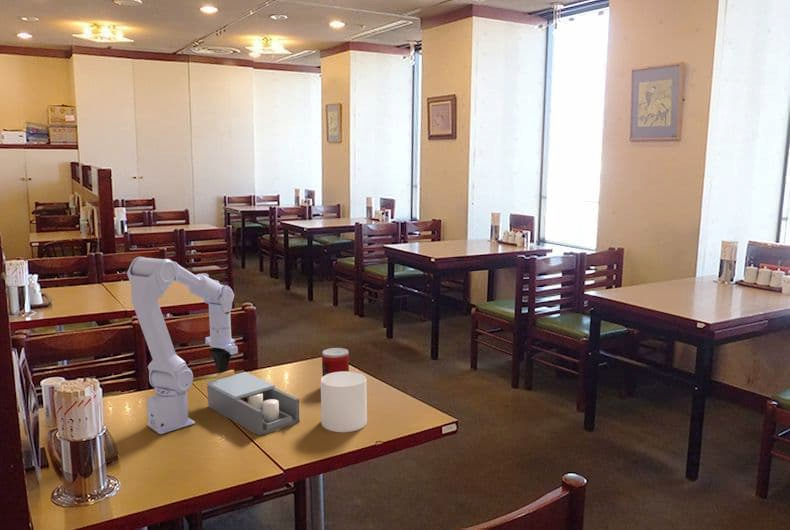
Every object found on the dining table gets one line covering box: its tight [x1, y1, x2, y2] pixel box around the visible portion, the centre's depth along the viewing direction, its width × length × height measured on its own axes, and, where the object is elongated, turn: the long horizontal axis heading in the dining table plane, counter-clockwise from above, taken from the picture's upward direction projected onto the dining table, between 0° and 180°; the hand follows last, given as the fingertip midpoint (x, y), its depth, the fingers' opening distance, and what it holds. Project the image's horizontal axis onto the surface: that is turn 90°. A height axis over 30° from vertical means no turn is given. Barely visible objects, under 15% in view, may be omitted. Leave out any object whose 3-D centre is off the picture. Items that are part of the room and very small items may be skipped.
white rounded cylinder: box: [263, 399, 279, 423], centre depth 162 cm, size 4×4×5 cm
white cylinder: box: [320, 370, 368, 433], centre depth 163 cm, size 12×12×12 cm
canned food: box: [321, 347, 350, 377], centre depth 189 cm, size 8×8×11 cm
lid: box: [206, 369, 276, 400], centre depth 172 cm, size 12×16×2 cm
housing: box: [206, 384, 300, 436], centre depth 169 cm, size 12×26×6 cm, turn 44°
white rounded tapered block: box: [246, 392, 263, 411], centre depth 168 cm, size 4×4×5 cm
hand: (222, 373), depth 179 cm, fingers closed
